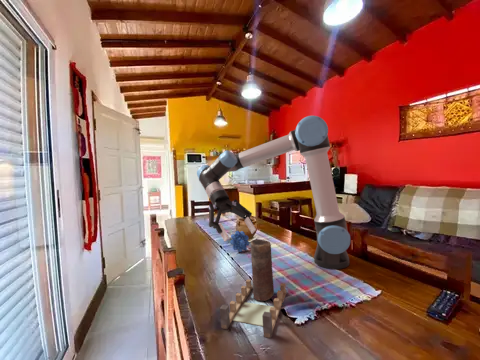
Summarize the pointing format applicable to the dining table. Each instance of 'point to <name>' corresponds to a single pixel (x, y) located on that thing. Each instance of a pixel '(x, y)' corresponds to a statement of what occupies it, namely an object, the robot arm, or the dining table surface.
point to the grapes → (239, 241)
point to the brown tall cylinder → (262, 270)
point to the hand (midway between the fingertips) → (241, 235)
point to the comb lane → (252, 310)
